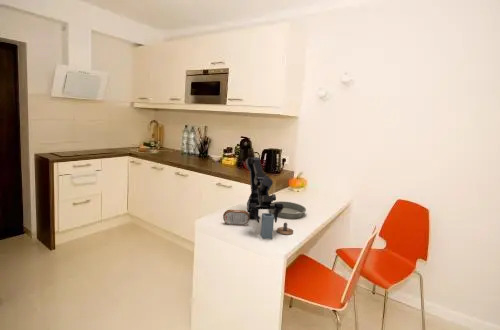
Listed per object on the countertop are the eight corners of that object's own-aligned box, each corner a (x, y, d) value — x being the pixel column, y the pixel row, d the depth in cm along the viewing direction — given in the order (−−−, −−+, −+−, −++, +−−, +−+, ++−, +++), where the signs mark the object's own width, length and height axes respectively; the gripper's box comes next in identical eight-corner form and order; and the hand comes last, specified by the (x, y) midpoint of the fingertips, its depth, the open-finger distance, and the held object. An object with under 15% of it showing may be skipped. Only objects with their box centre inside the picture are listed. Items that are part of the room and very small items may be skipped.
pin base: (274, 228, 161) (274, 219, 161) (288, 228, 164) (289, 219, 163) (280, 235, 153) (281, 226, 152) (295, 234, 156) (296, 225, 155)
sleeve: (260, 235, 152) (262, 213, 150) (269, 234, 153) (271, 213, 151) (262, 239, 147) (264, 216, 145) (272, 238, 148) (274, 216, 146)
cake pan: (275, 220, 176) (276, 213, 175) (263, 207, 199) (263, 201, 198) (312, 219, 182) (313, 212, 182) (296, 207, 206) (296, 201, 205)
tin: (249, 224, 166) (250, 210, 165) (249, 226, 163) (250, 212, 161) (222, 222, 165) (223, 208, 164) (222, 224, 162) (223, 210, 161)
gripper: (249, 188, 149) (253, 215, 140) (284, 188, 153) (289, 215, 144) (245, 198, 158) (248, 225, 149) (278, 198, 162) (282, 224, 153)
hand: (267, 222), depth 148 cm, fingers open, 9 cm apart
